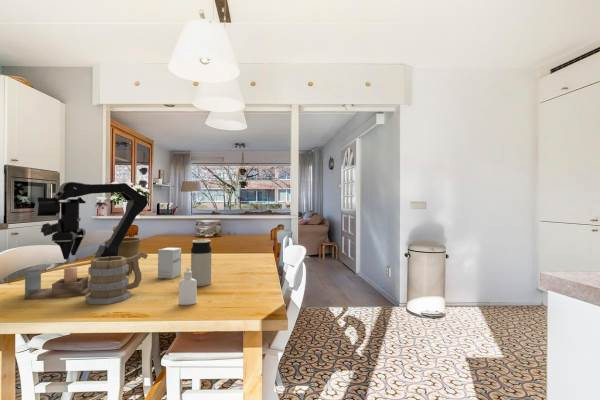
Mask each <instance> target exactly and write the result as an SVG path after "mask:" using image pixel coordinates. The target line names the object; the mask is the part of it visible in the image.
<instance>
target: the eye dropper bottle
mask: <svg viewBox="0 0 600 400" xmlns="http://www.w3.org/2000/svg"><path fill="white" fill-rule="evenodd" d="M183 273H184V274H183V278H181V279H180V280H179V282H178V304H179V305H180V306H191V305H195V304H197V298H198V297H197V296H198V294H197V291H198V289H197V281H196V280H195V279H193V278H192V271H191V269H190V267H187V268H186V270H185V271H184V272H183Z"/></svg>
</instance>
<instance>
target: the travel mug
mask: <svg viewBox="0 0 600 400" xmlns="http://www.w3.org/2000/svg"><path fill="white" fill-rule="evenodd" d="M191 243H192V247H191V248H190V250H191V251H190V271H192V278H193V279H195V280H196V281H197V286H201V287H207V286H209V285H211V284H212V246H211V239H194V240H191Z"/></svg>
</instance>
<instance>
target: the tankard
mask: <svg viewBox="0 0 600 400" xmlns="http://www.w3.org/2000/svg"><path fill="white" fill-rule="evenodd" d="M148 257H149V255H148V254H147V253H145V252H143V251H139V252H138V254H137V255H135V256H133V257H131V258H125V257H121V256H111V257H101V258H96V259H95V258H93V259H91V260H90V266H89V267H88V268H87V269H88V275H90V280H88V288H89V289H90V292H89V294H87V295H85V301H86V303H88V304H90V305H110V304H115V303H120V302H124V301H126V300H128V299H129V298H130V297H131V295H132V292H131V291H130V290H133V289H136V288H139V285H140V284H141V282H142V275H143V273H142V271H141V269H140V264H139V263H140V262H139V260H140V259H142V258H143V260H145V259H147V258H148ZM129 262H132V269H133V271H132V273H133V274H134V280H133V282H131V283H129V280H130V279H129V277H127V275H128V274H127V272H128V271H129V265H128V264H127V263H129Z"/></svg>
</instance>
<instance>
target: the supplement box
mask: <svg viewBox="0 0 600 400" xmlns="http://www.w3.org/2000/svg"><path fill="white" fill-rule="evenodd" d="M157 251H158V253H157V278H158V279H170V280H172V279H174V278H176V277H179V276H181V275H182V247H165V248H159V249H158V250H157Z"/></svg>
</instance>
